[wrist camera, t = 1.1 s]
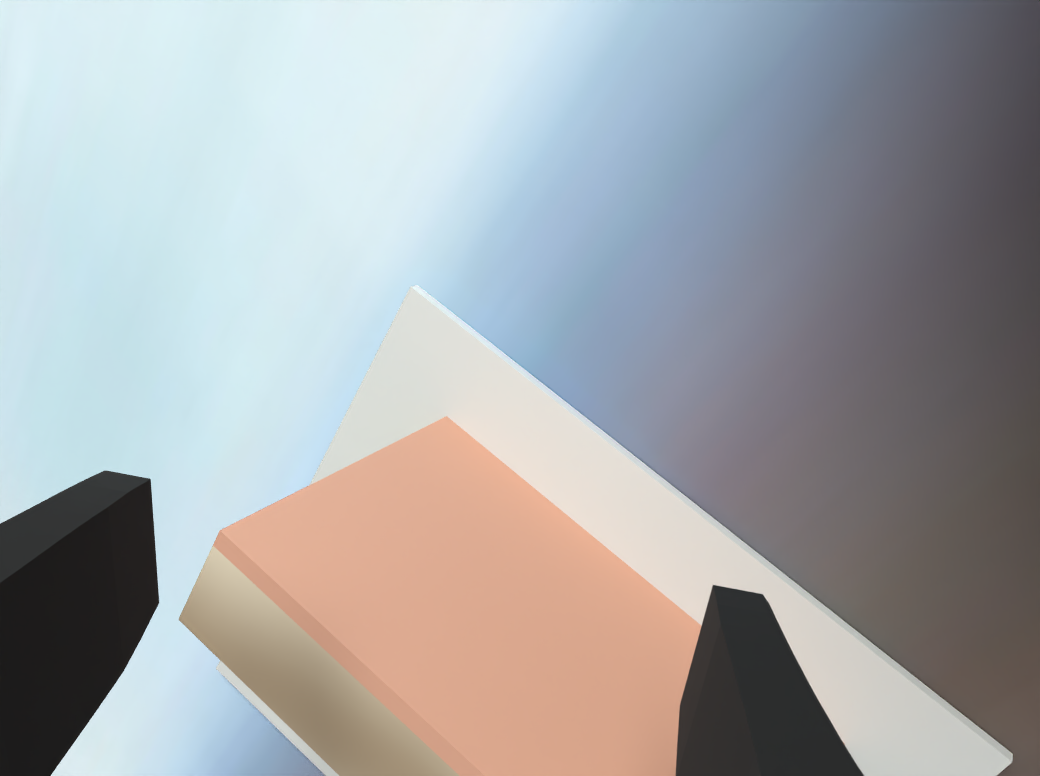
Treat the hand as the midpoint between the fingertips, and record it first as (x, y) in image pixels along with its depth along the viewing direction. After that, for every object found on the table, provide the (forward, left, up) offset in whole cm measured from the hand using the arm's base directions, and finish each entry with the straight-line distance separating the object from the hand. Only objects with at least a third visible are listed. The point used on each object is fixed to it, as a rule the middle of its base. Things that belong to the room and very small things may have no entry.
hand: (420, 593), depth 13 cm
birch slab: (-1, +6, -11) cm, 12 cm away
